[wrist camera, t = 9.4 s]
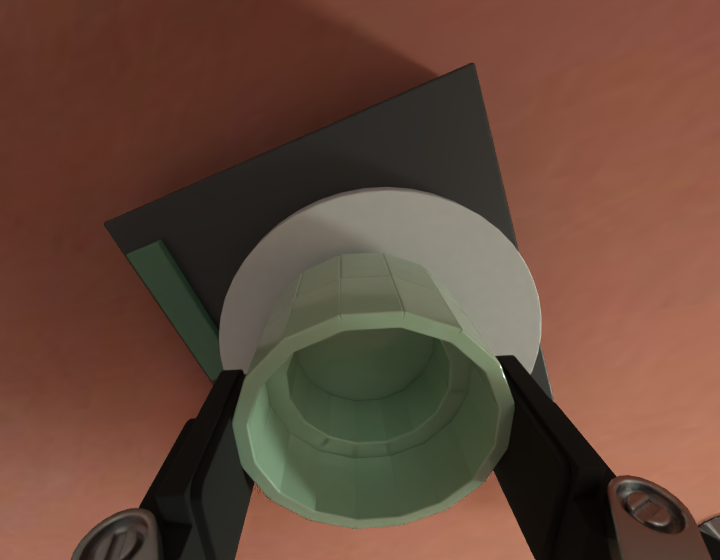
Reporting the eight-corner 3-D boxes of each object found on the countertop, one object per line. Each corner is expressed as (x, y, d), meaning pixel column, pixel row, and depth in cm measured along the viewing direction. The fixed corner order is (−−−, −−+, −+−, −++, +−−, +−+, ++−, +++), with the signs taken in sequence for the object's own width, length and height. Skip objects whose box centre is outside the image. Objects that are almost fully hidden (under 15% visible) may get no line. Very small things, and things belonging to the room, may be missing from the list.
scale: (147, 207, 15) (85, 229, 11) (447, 77, 13) (485, 55, 10) (302, 456, 20) (293, 524, 16) (527, 379, 19) (570, 434, 15)
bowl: (256, 253, 12) (206, 322, 7) (463, 242, 12) (532, 304, 7) (282, 415, 14) (256, 536, 10) (451, 404, 14) (497, 518, 10)
